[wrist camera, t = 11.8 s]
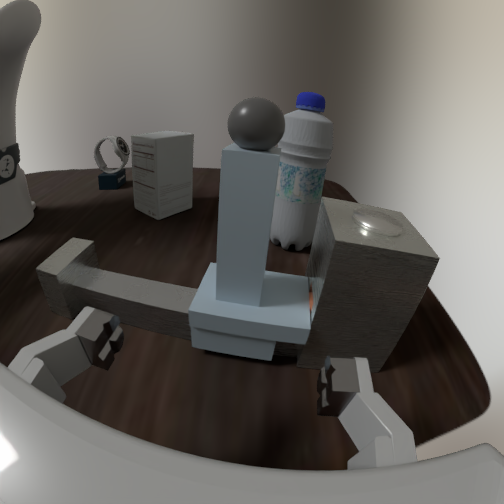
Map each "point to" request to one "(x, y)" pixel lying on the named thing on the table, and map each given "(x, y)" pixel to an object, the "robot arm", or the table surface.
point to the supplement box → (162, 172)
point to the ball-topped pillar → (249, 248)
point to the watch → (112, 176)
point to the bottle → (301, 172)
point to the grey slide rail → (318, 272)
